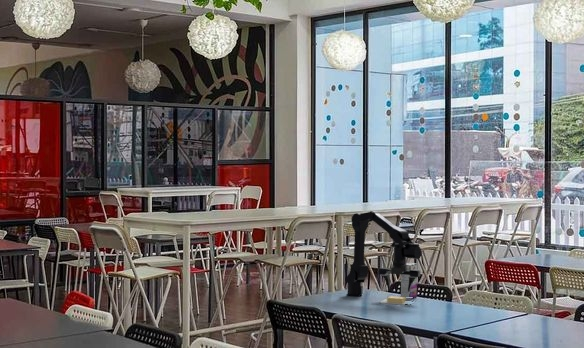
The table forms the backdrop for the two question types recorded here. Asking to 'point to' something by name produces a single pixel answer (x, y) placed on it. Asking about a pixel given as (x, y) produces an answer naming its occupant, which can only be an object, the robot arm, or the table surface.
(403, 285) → the candy bar box
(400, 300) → the tile
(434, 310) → the table surface
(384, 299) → the mat
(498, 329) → the table surface
